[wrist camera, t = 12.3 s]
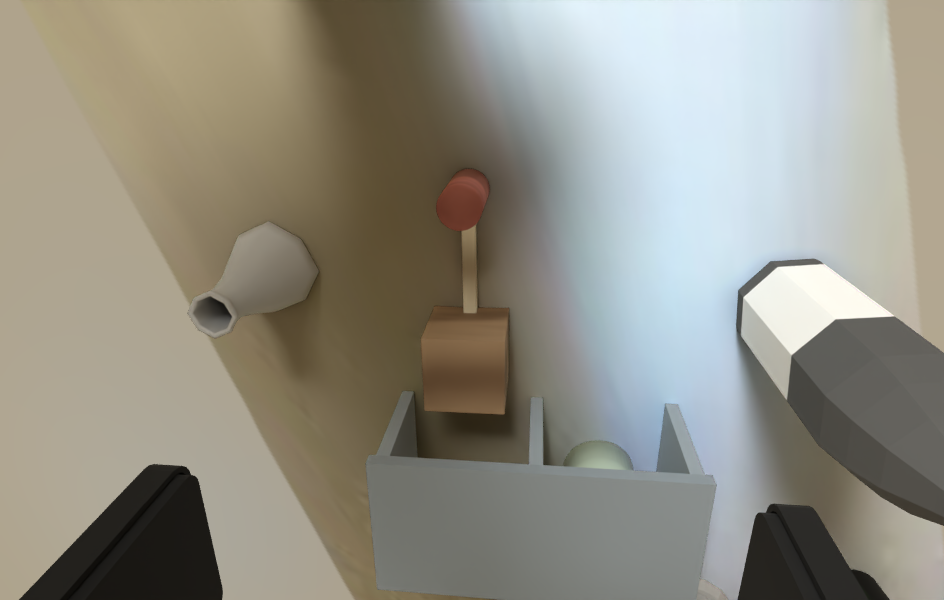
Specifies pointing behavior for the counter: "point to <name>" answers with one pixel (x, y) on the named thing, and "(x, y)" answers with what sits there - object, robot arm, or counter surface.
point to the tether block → (465, 320)
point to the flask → (256, 280)
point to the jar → (598, 456)
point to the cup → (869, 586)
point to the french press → (709, 592)
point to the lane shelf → (538, 521)
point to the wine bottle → (852, 379)
